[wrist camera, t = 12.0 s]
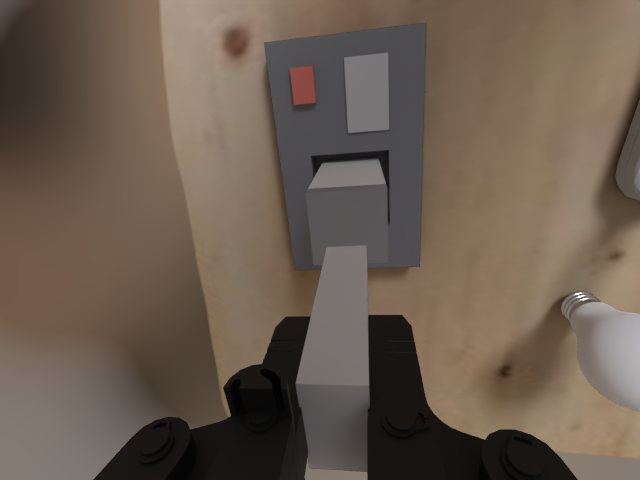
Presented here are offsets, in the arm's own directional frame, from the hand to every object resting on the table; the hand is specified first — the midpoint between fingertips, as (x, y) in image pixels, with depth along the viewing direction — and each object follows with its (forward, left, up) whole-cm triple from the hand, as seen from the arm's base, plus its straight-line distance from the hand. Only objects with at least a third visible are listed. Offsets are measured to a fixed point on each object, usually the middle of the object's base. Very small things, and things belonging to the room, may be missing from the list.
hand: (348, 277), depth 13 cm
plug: (+1, 0, -17) cm, 17 cm away
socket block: (-1, 0, -17) cm, 17 cm away
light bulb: (+13, +19, -17) cm, 29 cm away
